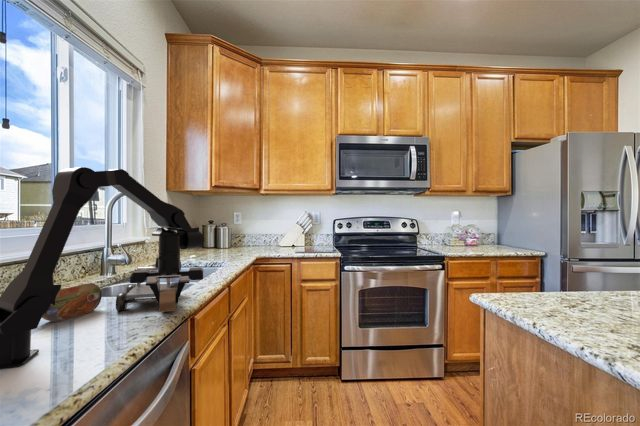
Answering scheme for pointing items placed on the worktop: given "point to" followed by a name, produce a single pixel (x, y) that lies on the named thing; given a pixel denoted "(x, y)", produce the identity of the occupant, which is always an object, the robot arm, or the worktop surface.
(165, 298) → the block
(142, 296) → the trolley
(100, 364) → the worktop surface
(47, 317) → the tin
